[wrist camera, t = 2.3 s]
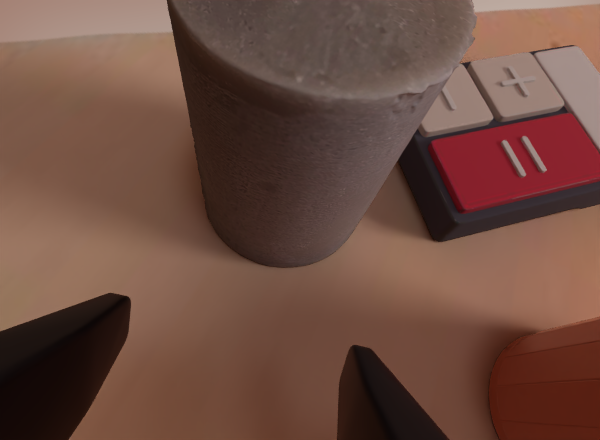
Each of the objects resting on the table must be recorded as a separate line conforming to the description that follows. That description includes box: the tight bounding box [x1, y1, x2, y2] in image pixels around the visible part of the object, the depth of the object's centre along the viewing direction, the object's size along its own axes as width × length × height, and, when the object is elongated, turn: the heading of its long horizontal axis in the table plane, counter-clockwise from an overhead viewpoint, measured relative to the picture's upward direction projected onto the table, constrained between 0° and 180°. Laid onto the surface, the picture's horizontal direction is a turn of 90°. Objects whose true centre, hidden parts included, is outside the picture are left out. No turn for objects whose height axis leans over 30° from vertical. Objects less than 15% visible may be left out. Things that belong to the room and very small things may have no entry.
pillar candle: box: [167, 0, 477, 267], centre depth 17 cm, size 10×10×15 cm
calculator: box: [398, 45, 600, 242], centre depth 26 cm, size 11×4×15 cm
